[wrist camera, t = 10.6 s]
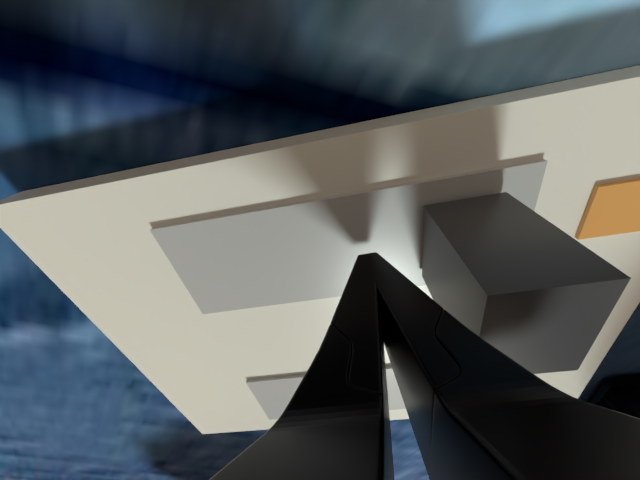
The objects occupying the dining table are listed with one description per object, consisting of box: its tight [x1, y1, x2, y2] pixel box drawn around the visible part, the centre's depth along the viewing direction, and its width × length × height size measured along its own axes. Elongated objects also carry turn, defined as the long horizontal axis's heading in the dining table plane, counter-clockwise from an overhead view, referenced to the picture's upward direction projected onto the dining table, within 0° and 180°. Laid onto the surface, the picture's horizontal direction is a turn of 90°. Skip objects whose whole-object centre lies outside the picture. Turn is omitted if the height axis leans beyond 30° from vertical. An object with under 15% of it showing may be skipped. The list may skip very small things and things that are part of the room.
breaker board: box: [0, 65, 640, 434], centre depth 13 cm, size 24×18×2 cm
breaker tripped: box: [422, 192, 631, 374], centre depth 8 cm, size 2×3×4 cm
